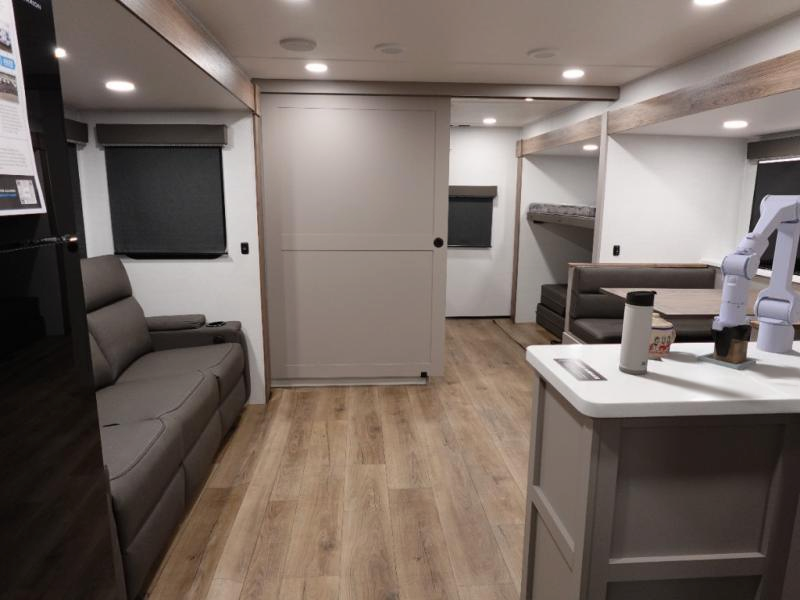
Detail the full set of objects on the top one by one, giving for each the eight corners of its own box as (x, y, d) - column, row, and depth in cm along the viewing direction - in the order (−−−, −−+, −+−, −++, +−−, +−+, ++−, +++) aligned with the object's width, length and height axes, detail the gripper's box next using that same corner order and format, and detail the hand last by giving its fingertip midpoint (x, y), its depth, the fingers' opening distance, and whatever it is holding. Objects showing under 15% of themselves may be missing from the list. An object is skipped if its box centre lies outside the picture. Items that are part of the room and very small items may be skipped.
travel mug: (650, 376, 128) (660, 293, 125) (621, 373, 129) (629, 291, 126) (644, 368, 134) (653, 289, 131) (616, 366, 135) (624, 287, 132)
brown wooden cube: (723, 356, 141) (725, 337, 140) (746, 361, 137) (748, 341, 136) (713, 359, 138) (714, 340, 138) (735, 364, 134) (737, 344, 133)
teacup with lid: (650, 361, 141) (655, 317, 139) (625, 352, 149) (629, 311, 147) (685, 358, 145) (691, 315, 143) (659, 349, 153) (664, 309, 151)
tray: (716, 358, 145) (717, 351, 145) (755, 368, 137) (756, 360, 137) (697, 363, 140) (698, 356, 139) (736, 373, 132) (737, 365, 132)
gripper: (732, 297, 143) (725, 347, 145) (703, 301, 135) (696, 354, 137) (761, 301, 137) (753, 353, 139) (732, 306, 129) (725, 361, 131)
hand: (727, 354), depth 138 cm, fingers closed on brown wooden cube, 5 cm apart
